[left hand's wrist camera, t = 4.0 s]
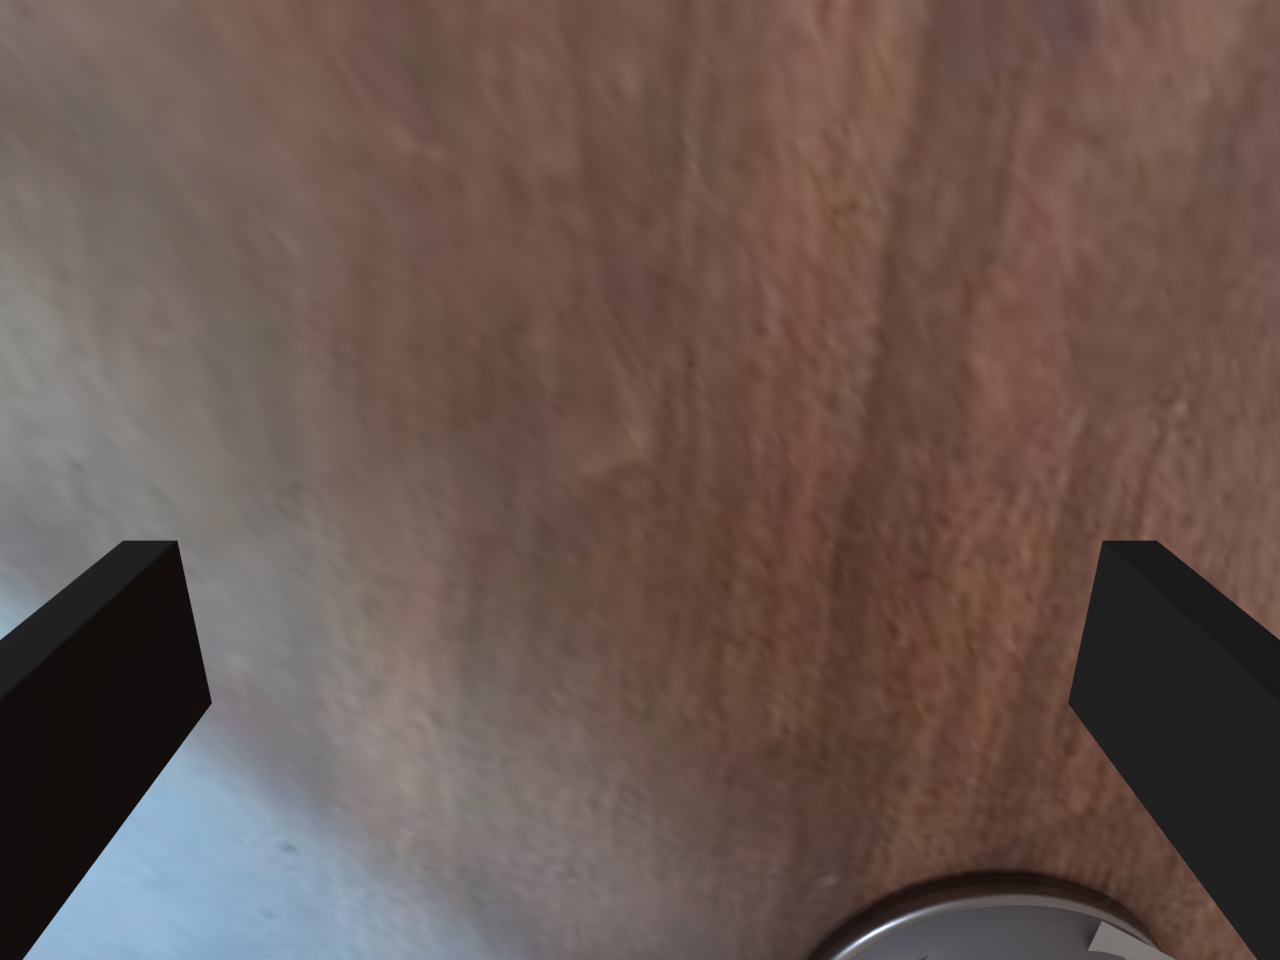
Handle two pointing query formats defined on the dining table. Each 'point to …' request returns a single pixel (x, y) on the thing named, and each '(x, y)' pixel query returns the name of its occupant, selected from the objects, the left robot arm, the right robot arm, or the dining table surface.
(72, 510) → the dining table surface
